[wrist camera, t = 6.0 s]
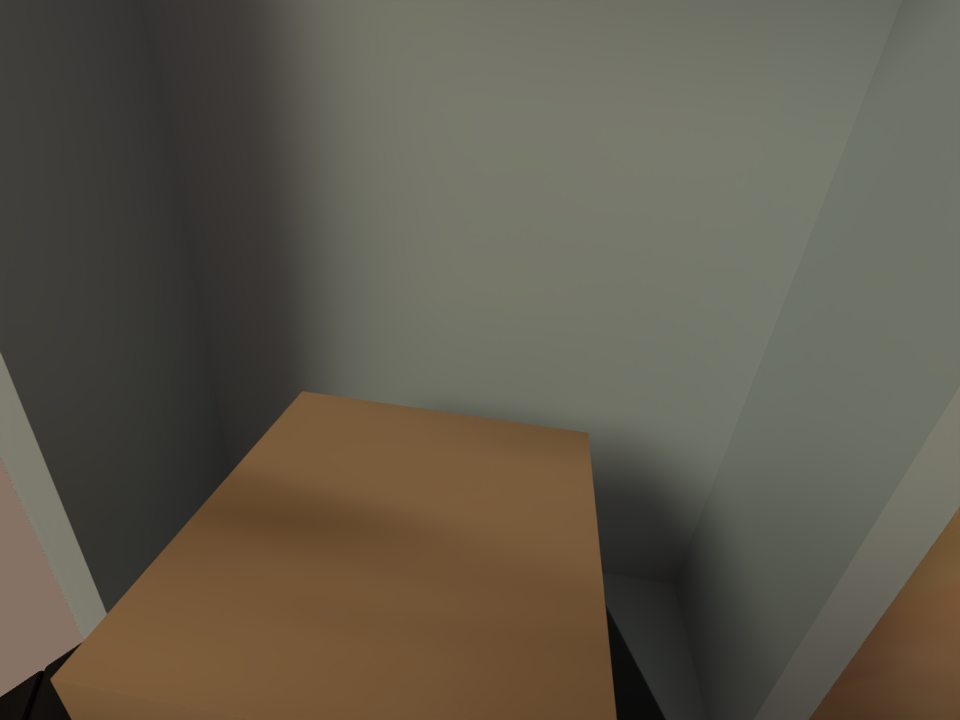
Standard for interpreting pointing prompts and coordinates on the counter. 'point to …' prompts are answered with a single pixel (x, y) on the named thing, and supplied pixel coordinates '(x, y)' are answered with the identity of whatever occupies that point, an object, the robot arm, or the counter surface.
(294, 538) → the walnut cube
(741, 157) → the tote
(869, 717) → the counter surface
